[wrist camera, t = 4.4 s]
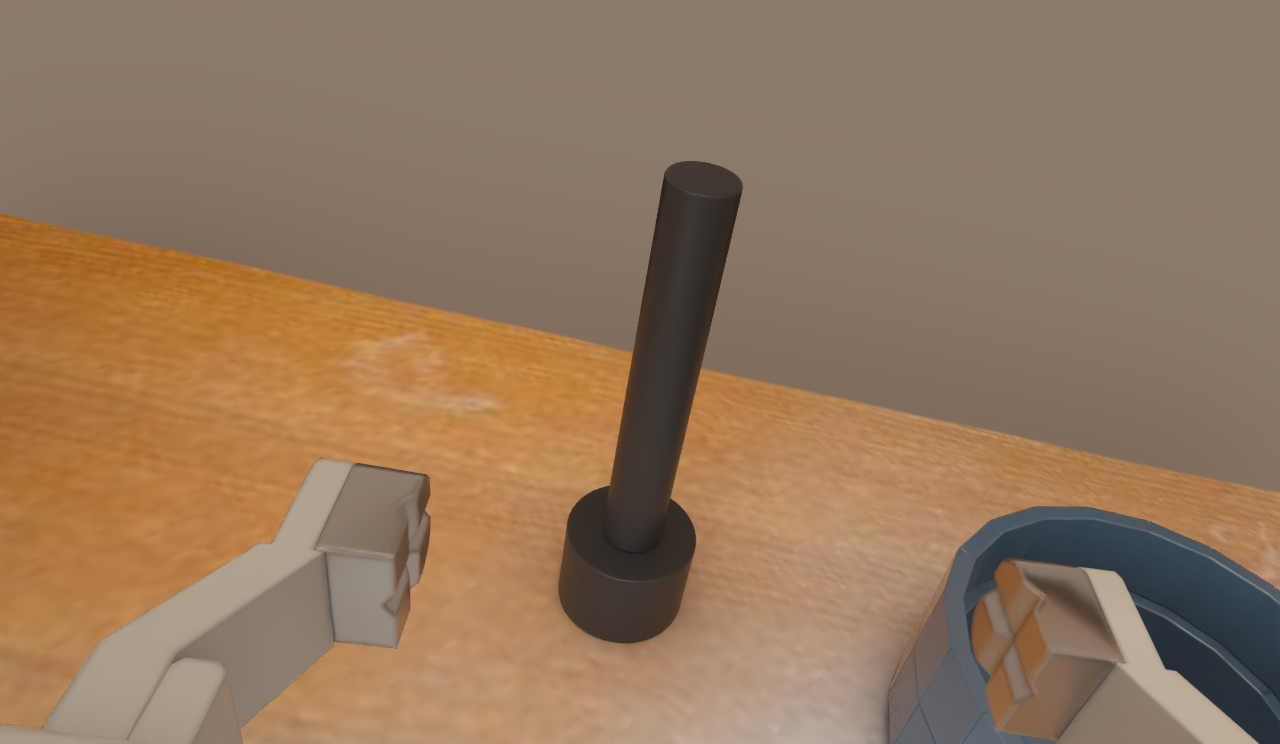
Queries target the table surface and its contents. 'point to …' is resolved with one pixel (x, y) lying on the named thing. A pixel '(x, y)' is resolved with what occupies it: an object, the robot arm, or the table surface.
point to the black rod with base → (654, 423)
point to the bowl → (1161, 590)
